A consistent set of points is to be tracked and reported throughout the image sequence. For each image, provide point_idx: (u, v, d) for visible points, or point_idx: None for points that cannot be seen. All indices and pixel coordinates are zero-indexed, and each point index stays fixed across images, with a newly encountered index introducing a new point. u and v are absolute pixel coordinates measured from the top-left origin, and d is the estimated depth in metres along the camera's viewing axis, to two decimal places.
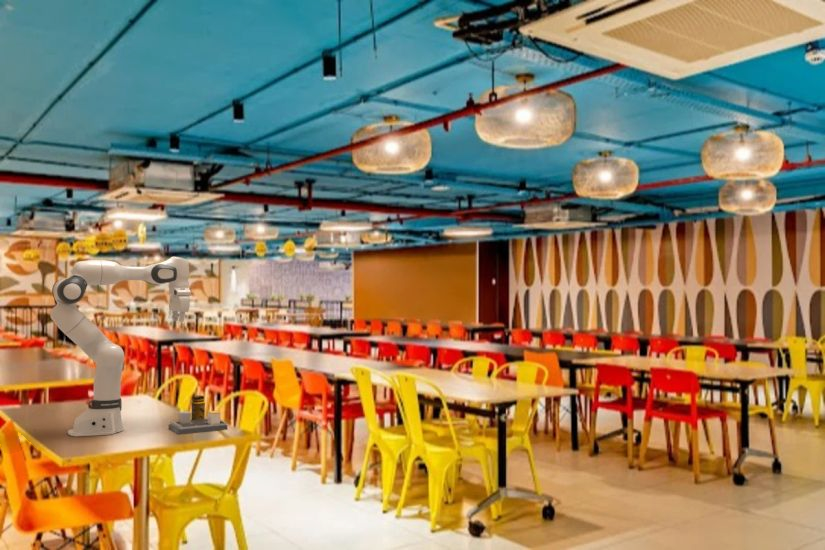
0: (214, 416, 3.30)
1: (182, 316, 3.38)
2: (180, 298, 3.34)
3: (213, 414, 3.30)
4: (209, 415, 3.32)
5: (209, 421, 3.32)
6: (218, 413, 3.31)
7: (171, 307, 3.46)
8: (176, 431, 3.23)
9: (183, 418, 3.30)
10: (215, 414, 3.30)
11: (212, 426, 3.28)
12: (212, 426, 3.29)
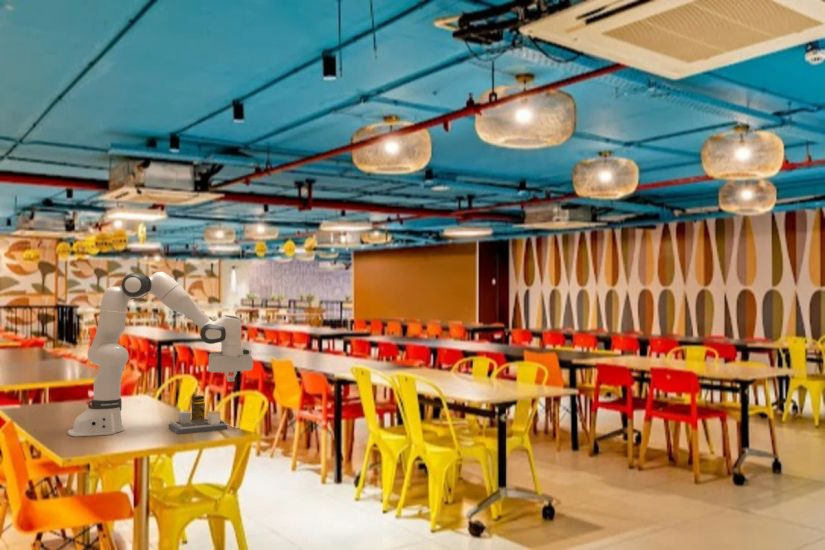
0: (214, 416, 3.30)
1: None
2: (251, 357, 3.41)
3: (213, 414, 3.30)
4: (209, 415, 3.32)
5: (209, 421, 3.32)
6: (218, 413, 3.31)
7: (220, 368, 3.32)
8: (176, 431, 3.23)
9: (183, 418, 3.30)
10: (215, 414, 3.30)
11: (212, 426, 3.28)
12: (212, 426, 3.29)
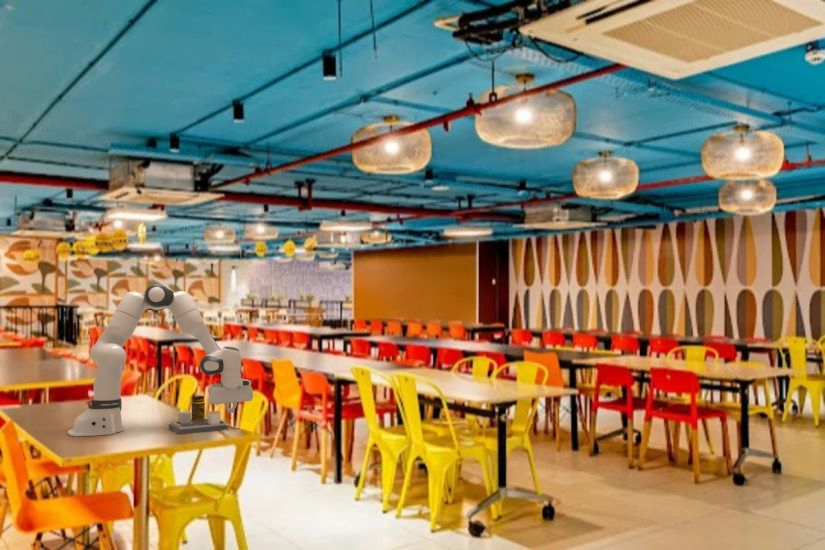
0: (214, 416, 3.30)
1: None
2: (251, 387, 3.41)
3: (213, 414, 3.30)
4: (209, 415, 3.32)
5: (209, 421, 3.32)
6: (218, 413, 3.31)
7: (220, 400, 3.33)
8: (176, 431, 3.23)
9: (183, 418, 3.30)
10: (215, 414, 3.30)
11: (212, 426, 3.28)
12: (212, 426, 3.29)
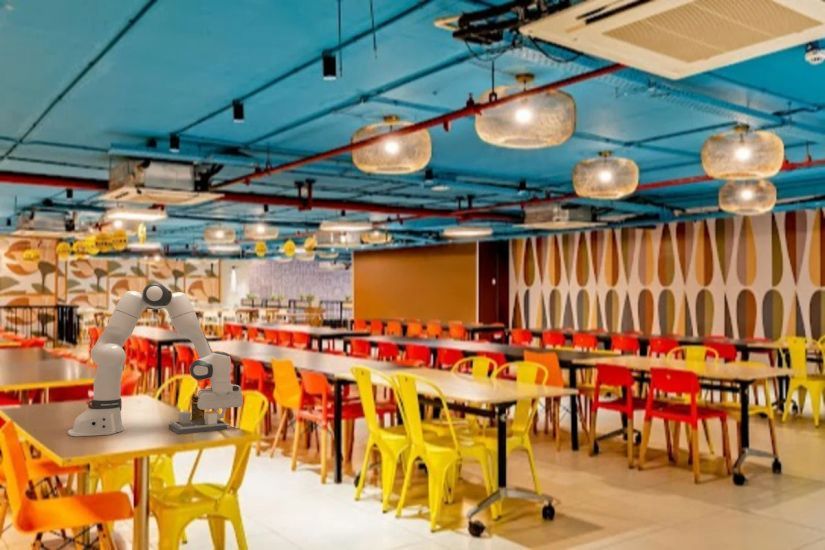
0: (211, 416, 3.29)
1: None
2: (241, 393, 3.38)
3: (210, 414, 3.29)
4: (206, 415, 3.31)
5: (206, 421, 3.31)
6: (215, 413, 3.31)
7: (209, 405, 3.30)
8: (176, 431, 3.23)
9: (183, 418, 3.30)
10: (212, 414, 3.30)
11: (212, 426, 3.28)
12: (212, 426, 3.29)
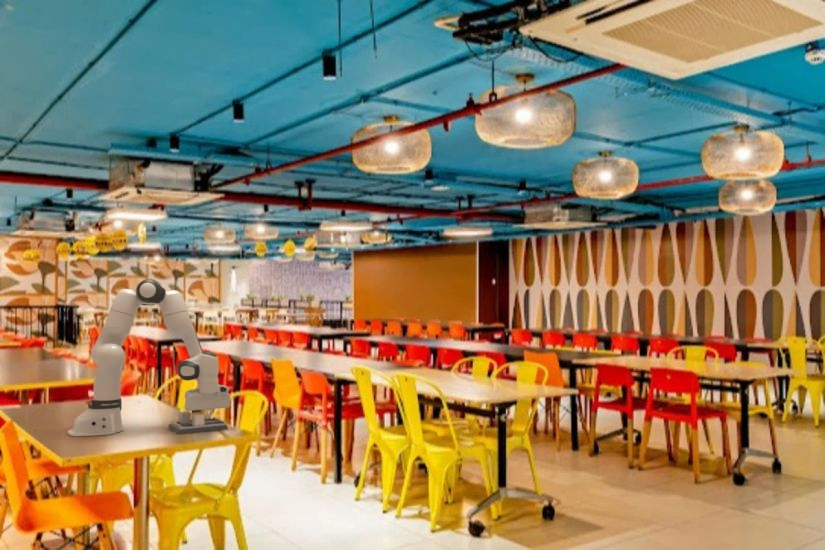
0: (198, 417, 3.26)
1: None
2: (229, 394, 3.35)
3: (197, 415, 3.26)
4: (193, 416, 3.28)
5: (193, 422, 3.28)
6: (202, 414, 3.27)
7: (196, 406, 3.26)
8: (176, 431, 3.23)
9: (183, 418, 3.30)
10: (199, 415, 3.27)
11: (212, 426, 3.28)
12: (212, 426, 3.29)
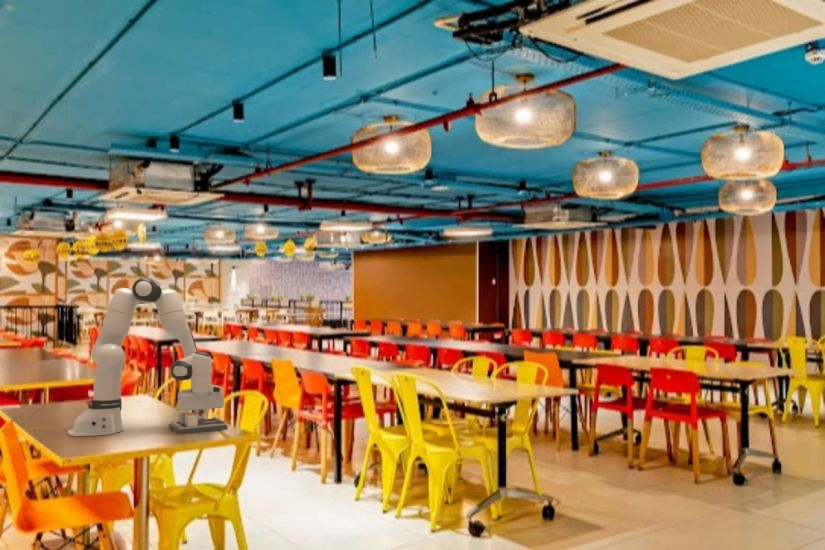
0: (191, 418, 3.25)
1: None
2: (222, 394, 3.33)
3: (190, 416, 3.24)
4: (186, 417, 3.26)
5: (186, 423, 3.26)
6: (195, 415, 3.26)
7: (189, 406, 3.25)
8: (176, 431, 3.23)
9: (183, 418, 3.30)
10: (192, 416, 3.25)
11: (212, 426, 3.28)
12: (212, 426, 3.29)
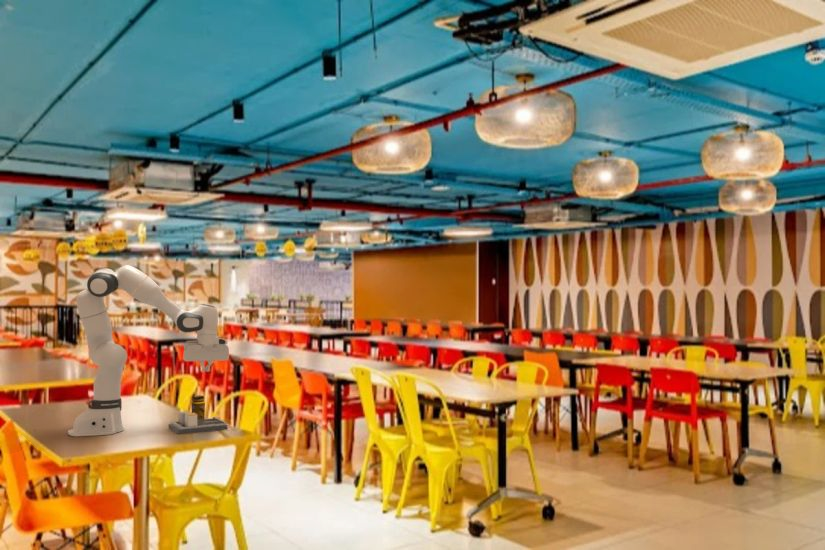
0: (191, 418, 3.25)
1: None
2: (227, 347, 3.36)
3: (190, 416, 3.24)
4: (186, 417, 3.26)
5: (186, 423, 3.26)
6: (195, 415, 3.26)
7: (195, 357, 3.28)
8: (176, 431, 3.23)
9: (183, 418, 3.30)
10: (192, 416, 3.25)
11: (212, 426, 3.28)
12: (212, 426, 3.29)
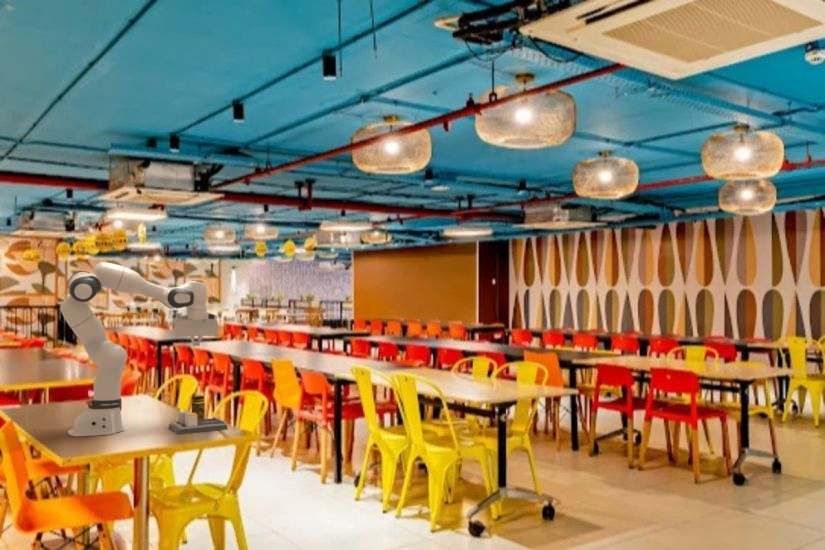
0: (191, 418, 3.25)
1: None
2: (217, 322, 3.41)
3: (190, 416, 3.24)
4: (186, 417, 3.26)
5: (186, 423, 3.26)
6: (195, 415, 3.26)
7: (185, 332, 3.33)
8: (176, 431, 3.23)
9: (183, 418, 3.30)
10: (192, 416, 3.25)
11: (212, 426, 3.28)
12: (212, 426, 3.29)
